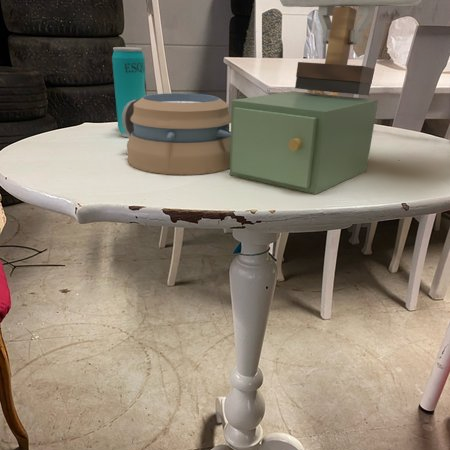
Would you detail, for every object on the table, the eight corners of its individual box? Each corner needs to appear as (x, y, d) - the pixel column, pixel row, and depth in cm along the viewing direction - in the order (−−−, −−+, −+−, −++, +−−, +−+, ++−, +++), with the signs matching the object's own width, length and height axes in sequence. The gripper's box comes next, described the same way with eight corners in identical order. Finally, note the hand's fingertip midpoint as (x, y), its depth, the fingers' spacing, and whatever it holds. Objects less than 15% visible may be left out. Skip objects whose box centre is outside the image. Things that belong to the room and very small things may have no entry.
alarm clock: (137, 107, 60) (106, 88, 78) (142, 179, 64) (112, 145, 83) (258, 103, 65) (202, 86, 84) (254, 170, 70) (202, 140, 88)
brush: (369, 95, 67) (386, 11, 63) (357, 94, 64) (374, 5, 60) (308, 89, 73) (320, 11, 68) (294, 88, 69) (305, 5, 65)
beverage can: (153, 137, 90) (149, 48, 82) (125, 139, 87) (118, 48, 80) (141, 131, 94) (136, 47, 86) (114, 134, 91) (106, 47, 84)
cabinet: (366, 170, 71) (378, 99, 66) (309, 197, 59) (319, 113, 54) (287, 156, 78) (292, 91, 73) (222, 177, 66) (223, 101, 61)
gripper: (448, -85, 56) (422, 46, 63) (300, -68, 67) (291, 42, 74) (432, -95, 52) (406, 47, 59) (276, -75, 63) (270, 42, 70)
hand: (341, 44), depth 66 cm, fingers closed on brush, 2 cm apart
